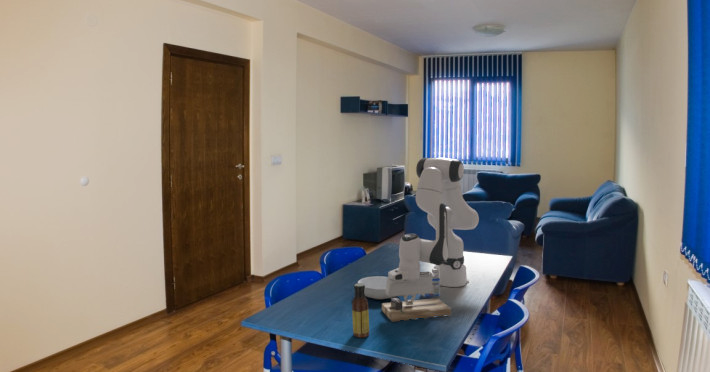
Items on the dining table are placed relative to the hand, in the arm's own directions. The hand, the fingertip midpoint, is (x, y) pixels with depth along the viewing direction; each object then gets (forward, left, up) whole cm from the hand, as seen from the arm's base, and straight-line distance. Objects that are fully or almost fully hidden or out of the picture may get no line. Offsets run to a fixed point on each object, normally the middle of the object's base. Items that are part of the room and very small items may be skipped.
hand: (409, 304), depth 220 cm
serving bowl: (-25, -5, -4) cm, 25 cm away
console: (0, +3, -4) cm, 5 cm away
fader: (0, -6, 0) cm, 6 cm away
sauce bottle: (+17, -26, -4) cm, 32 cm away
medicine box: (-20, +18, -4) cm, 27 cm away
